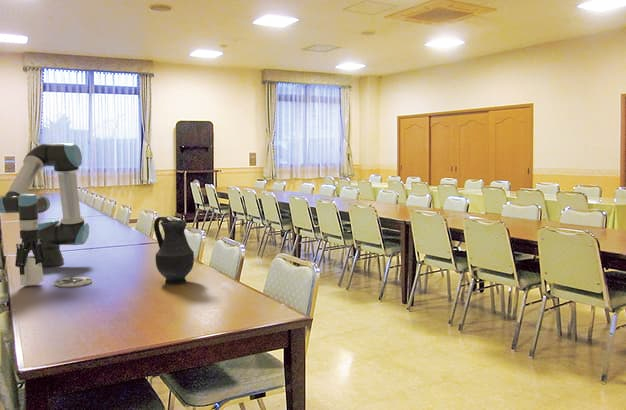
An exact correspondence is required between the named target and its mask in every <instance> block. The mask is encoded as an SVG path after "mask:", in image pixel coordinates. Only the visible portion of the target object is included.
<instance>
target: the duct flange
mask: <svg viewBox="0 0 626 410" xmlns="http://www.w3.org/2000/svg"><path fill="white" fill-rule="evenodd" d="M92 283H93V279H92V278H91V277H88V276H70V277H65V278H64V277H63V278H58V279H57V280H54V281H53V286H54V287H58V288H77V287H83V286H87V285H90V284H92Z"/></svg>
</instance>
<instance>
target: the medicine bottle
mask: <svg viewBox="0 0 626 410" xmlns="http://www.w3.org/2000/svg"><path fill="white" fill-rule="evenodd" d="M25 267H27V282H21V275H20V274H19V279H20V280H19V281H20V286H38V285H39V284H40V283H43V282H44V278H43V277H44V275H43V267H42V266H38V257H35V256H34V255H33V256H30V255H29V256H28V257H27V261H26V264H25Z"/></svg>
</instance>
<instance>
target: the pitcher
mask: <svg viewBox="0 0 626 410" xmlns="http://www.w3.org/2000/svg"><path fill="white" fill-rule="evenodd" d="M187 224H188V223H187V220H183V219H182V220H181V219H179V220H177V219H173V220H172V219H169V218H167V217H166V216H158V217H156V218H155V220H154V223H153V230H154V234H155V237H156V241H157V244H158V247H159V249H158V251H157V252H156V253H155V266H156V269H157V271H158V272H159V274H160V275H161V276H162V277H163V278H165V281H164V283H165V284H167V285H181V284H186V282H187V279H186V277H187V276H188V275H189V274H190V273H191V271H192V270H193V267H194V264H195V252H194V250H193V249H192V248H191V247H190V245H189V243H188V242H189V241H188V240H187V236H186V234H185V230H186V227H187ZM160 225H161V227H162V230H163V233H164V234H163V235H164V237H163V236H162V232H161V229H160Z"/></svg>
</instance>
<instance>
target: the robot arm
mask: <svg viewBox="0 0 626 410" xmlns="http://www.w3.org/2000/svg"><path fill="white" fill-rule="evenodd" d="M22 161H23V165H22V166H21V168H20V169H19V171H18V173H17V175H16V177H15V178H14V179H13V181H12V183H11V185H10V186H9V188H8V190H7V192H6V193H5V194H4V196H3V195H2V196H0V214H18V216H19V217H18V220H19V221H18V222H19V223H18V224H19V225H18V226H19V237H20V239H21V243H16V245H15V248H16V253H15V254H16V255H15V264H14V266H15V267H16V268H19V276H20V275H21V282H27V267H25V264H26V261H27V257H29V254H30V253H31V252H32V255H33V256H35V257H38V266H42V268H49V267H50V268H51V267H52V268H53V267H56V266H61V265H64V264H65V259H64V257H63V254H62V251H61V247H60V246H80V245H81V246H82V245H84V244H86V243H87V241H88V239H89V235H90V225H89V223H88V222H85V218H84V217H82V216H81V207H80V198H79V189H78V181H77V172H78V171H79V170H80V168H79V167H81V166H82V163H83V162H82V161H83V156H82V152H81V149H80V147H79V146H78V145H77V144H75V143H68V142H64V143H63V142H61V143H60V142H59V143H57V142H56V143H55V142H54V143H52V142H51V143H50V142H47V143H41V144H39V145H37V146H35V147H34V148H32V149H31V150H30V151H29V152H28V153H27V154H26V155H25V157H24V158H23V160H22ZM45 167H53V171H54V172H56V173H57V178H58V186H59V195H60V202H61V203H60V204H61V213H62V218H61V220H60V221H59V219H54V220H53V219H52V220H47V221H41V222H39V214H42V213H44V212H47V211H48V210H49V208H50V206H51V202H50V199H49V198H48V197H47V196H44V195H37V194H35V193H28V192H29V190H30V189H31V186H32V185H33V182H34V181H35V179H36V177H37V176H38V174H39V172H40V171H42V170H43V169H44V168H45Z"/></svg>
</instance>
